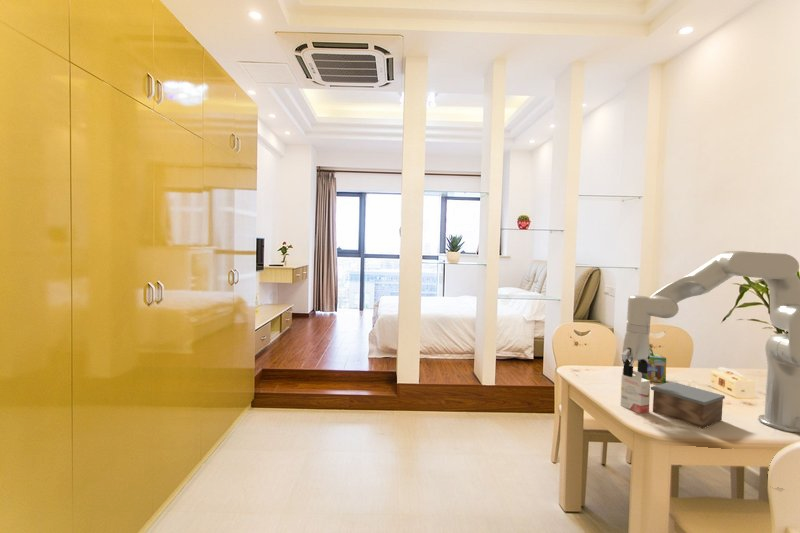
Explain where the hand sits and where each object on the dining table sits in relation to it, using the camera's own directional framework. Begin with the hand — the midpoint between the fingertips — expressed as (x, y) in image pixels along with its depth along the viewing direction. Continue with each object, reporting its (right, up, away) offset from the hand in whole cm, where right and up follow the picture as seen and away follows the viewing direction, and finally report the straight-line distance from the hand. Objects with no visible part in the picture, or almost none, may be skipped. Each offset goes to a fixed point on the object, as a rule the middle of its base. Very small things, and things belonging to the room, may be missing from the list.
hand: (635, 374), depth 152 cm
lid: (+15, -5, -6) cm, 17 cm away
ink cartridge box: (0, -13, 0) cm, 13 cm away
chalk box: (+29, -13, +38) cm, 49 cm away
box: (+15, -14, -6) cm, 21 cm away
